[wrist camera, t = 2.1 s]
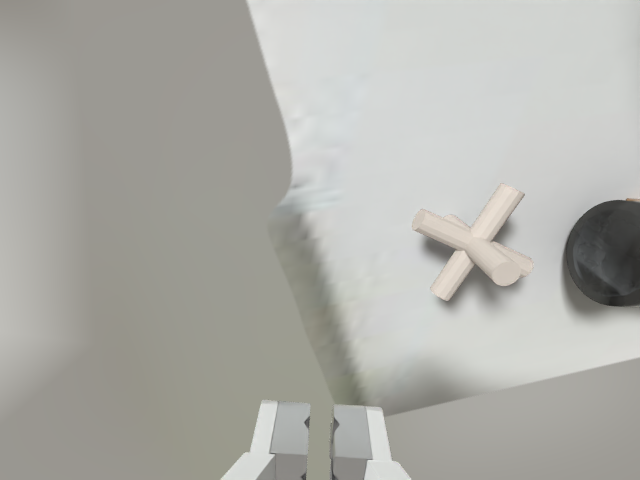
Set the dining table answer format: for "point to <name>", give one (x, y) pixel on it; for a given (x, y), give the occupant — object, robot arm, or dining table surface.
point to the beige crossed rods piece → (476, 244)
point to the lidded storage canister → (607, 253)
